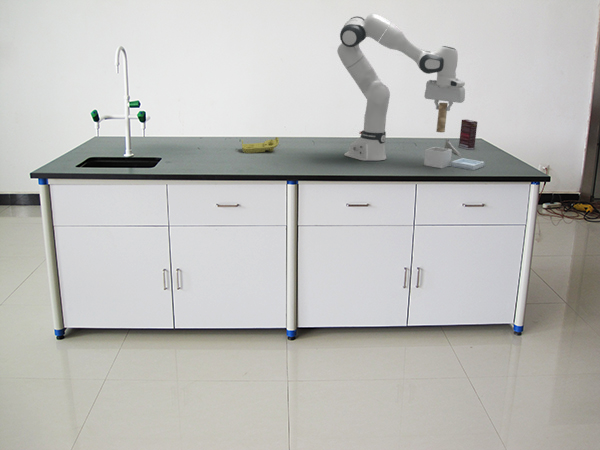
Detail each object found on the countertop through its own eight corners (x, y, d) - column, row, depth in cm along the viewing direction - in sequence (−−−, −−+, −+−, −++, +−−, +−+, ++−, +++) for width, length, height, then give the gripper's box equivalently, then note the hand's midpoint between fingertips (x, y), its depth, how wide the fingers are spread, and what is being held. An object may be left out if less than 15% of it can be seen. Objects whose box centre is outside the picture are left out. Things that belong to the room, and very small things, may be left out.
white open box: (424, 165, 305) (425, 149, 302) (433, 162, 312) (435, 146, 309) (441, 168, 299) (442, 152, 296) (450, 165, 306) (452, 149, 303)
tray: (450, 166, 304) (451, 161, 303) (461, 162, 312) (462, 158, 312) (472, 170, 296) (473, 165, 296) (483, 166, 305) (484, 161, 304)
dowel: (434, 131, 300) (437, 103, 295) (438, 130, 302) (441, 102, 298) (442, 132, 297) (445, 104, 293) (446, 131, 300) (449, 103, 295)
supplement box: (474, 149, 346) (478, 121, 341) (468, 149, 344) (471, 121, 339) (464, 146, 353) (467, 119, 348) (458, 146, 351) (461, 119, 346)
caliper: (444, 149, 346) (445, 138, 344) (446, 149, 346) (447, 138, 344) (459, 156, 327) (460, 145, 325) (461, 156, 327) (462, 145, 325)
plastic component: (242, 149, 319) (241, 137, 326) (243, 160, 324) (242, 148, 331) (279, 146, 321) (277, 135, 328) (280, 157, 326) (278, 145, 333)
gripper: (423, 79, 296) (420, 108, 300) (461, 83, 283) (458, 113, 288) (430, 79, 300) (427, 107, 305) (468, 82, 288) (464, 112, 292)
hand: (442, 110), depth 296 cm, fingers closed on dowel, 4 cm apart
